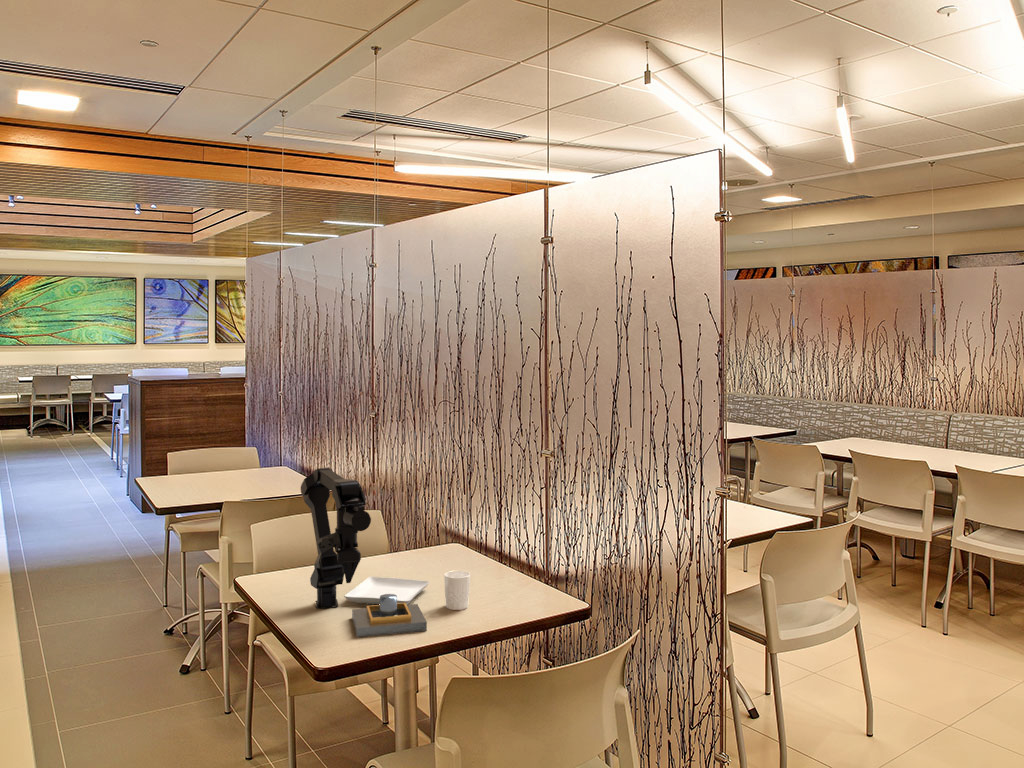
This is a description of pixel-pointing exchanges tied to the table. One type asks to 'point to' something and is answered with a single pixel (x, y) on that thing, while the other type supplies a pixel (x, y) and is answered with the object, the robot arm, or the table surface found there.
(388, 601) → the can
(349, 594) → the salad plate
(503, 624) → the table surface
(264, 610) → the table surface
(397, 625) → the grey and gold frame
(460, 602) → the white cup
